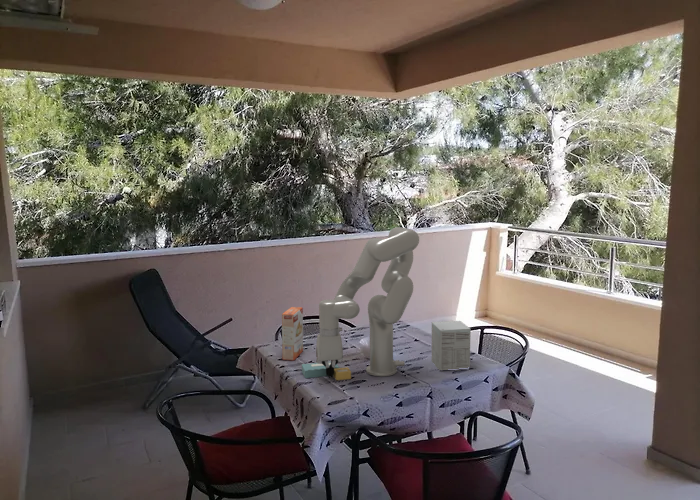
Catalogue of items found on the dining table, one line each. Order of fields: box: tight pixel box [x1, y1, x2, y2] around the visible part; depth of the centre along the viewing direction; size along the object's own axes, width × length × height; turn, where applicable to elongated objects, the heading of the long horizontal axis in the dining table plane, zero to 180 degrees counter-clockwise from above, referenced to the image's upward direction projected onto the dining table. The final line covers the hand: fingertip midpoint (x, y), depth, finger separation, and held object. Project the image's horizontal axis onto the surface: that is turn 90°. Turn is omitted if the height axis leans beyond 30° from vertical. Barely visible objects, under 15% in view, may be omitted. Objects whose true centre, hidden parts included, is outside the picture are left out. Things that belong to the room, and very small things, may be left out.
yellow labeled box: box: [333, 366, 352, 381], centre depth 215 cm, size 6×5×3 cm
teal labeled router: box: [301, 361, 340, 379], centre depth 220 cm, size 14×8×3 cm, turn 104°
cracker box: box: [281, 306, 304, 361], centre depth 241 cm, size 14×6×21 cm, turn 168°
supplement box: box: [431, 320, 472, 371], centre depth 226 cm, size 13×13×18 cm
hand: (330, 376), depth 214 cm, fingers closed
